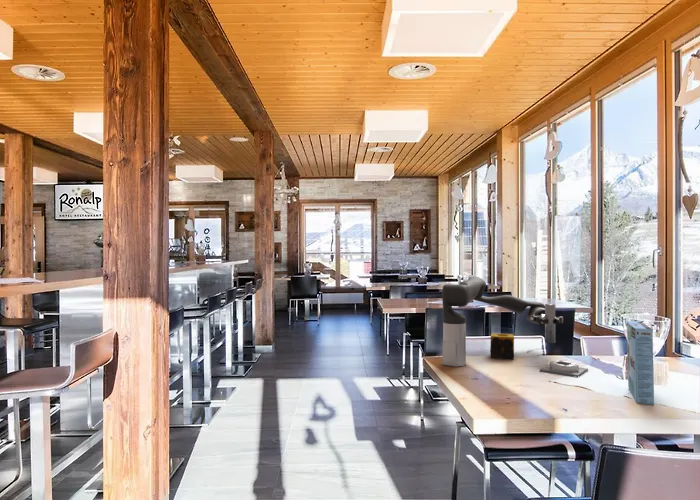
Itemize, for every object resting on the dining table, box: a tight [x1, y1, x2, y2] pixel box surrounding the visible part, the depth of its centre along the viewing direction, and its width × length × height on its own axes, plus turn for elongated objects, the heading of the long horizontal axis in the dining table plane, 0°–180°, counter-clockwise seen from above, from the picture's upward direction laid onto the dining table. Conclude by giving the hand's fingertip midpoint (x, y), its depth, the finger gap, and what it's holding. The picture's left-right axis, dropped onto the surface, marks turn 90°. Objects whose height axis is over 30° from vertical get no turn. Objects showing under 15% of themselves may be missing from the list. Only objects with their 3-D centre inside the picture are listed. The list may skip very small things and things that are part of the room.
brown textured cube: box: [489, 332, 515, 361], centre depth 211 cm, size 10×10×10 cm
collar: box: [538, 360, 589, 378], centre depth 185 cm, size 14×14×3 cm
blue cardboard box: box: [626, 320, 655, 406], centre depth 152 cm, size 20×5×23 cm, turn 156°
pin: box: [544, 303, 556, 344], centre depth 200 cm, size 4×4×16 cm
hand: (551, 321), depth 197 cm, fingers closed on pin, 4 cm apart
